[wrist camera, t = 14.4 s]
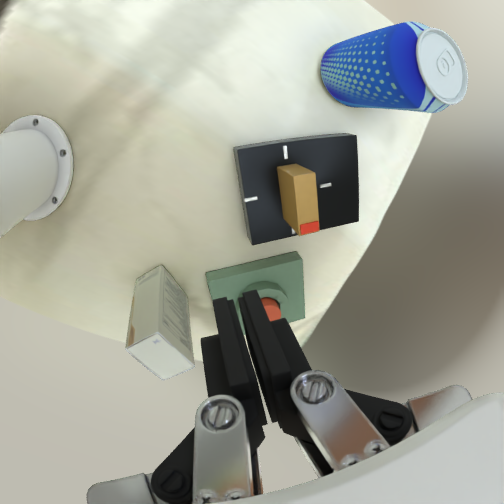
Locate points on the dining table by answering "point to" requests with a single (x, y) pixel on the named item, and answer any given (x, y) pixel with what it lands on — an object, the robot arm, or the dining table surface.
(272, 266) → the button block
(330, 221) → the base
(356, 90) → the beer can
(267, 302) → the button
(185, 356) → the cosmetic box
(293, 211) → the tap handle
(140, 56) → the dining table surface
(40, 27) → the dining table surface
